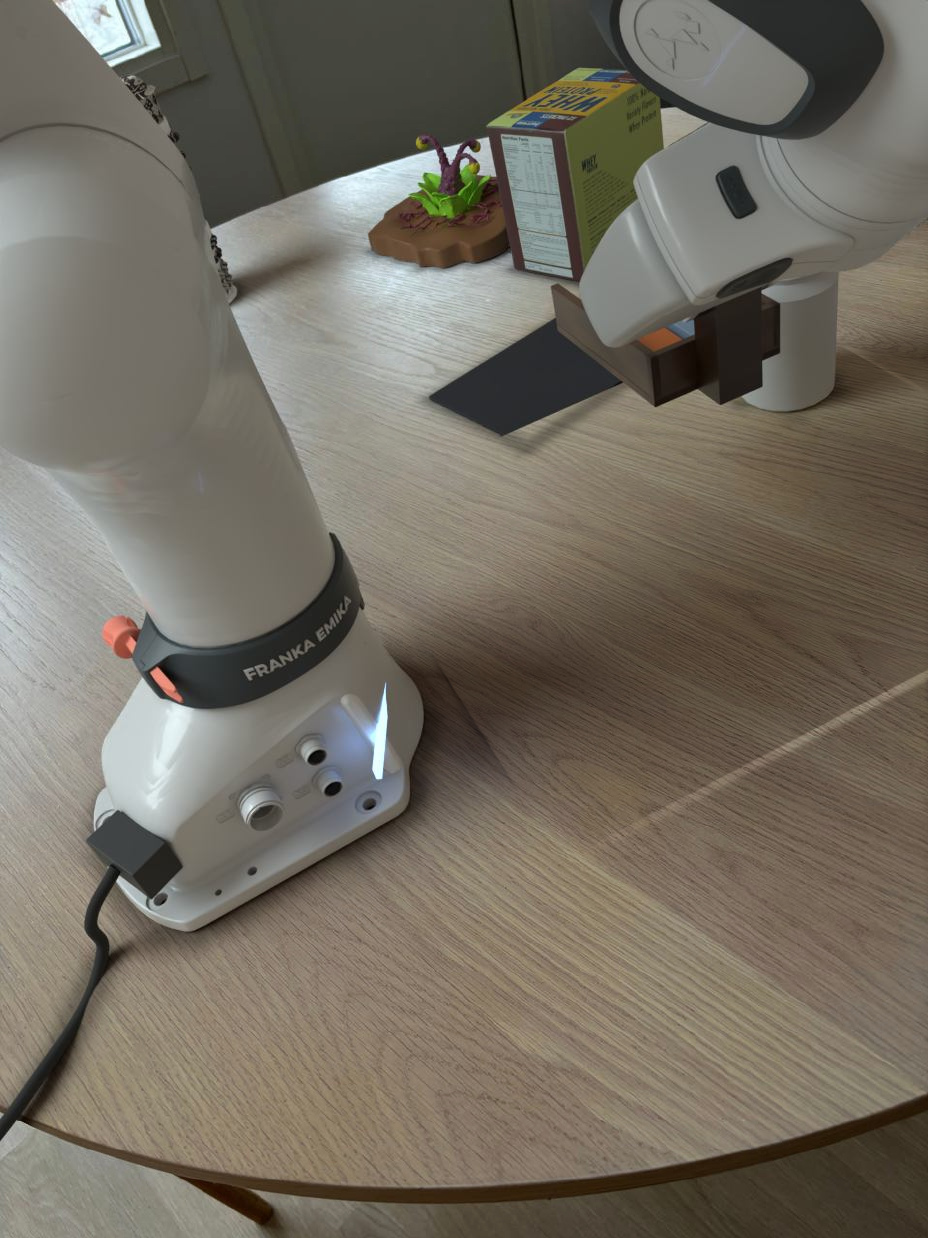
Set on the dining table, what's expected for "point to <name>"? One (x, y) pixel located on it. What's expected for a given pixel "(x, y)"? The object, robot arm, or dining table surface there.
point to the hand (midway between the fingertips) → (719, 293)
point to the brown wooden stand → (686, 349)
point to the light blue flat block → (682, 329)
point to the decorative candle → (151, 105)
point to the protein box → (572, 165)
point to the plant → (445, 215)
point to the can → (801, 344)
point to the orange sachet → (659, 339)
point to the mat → (526, 382)
